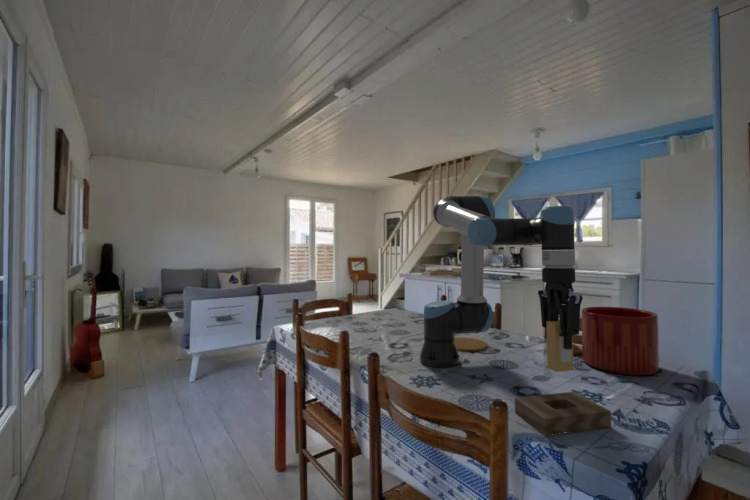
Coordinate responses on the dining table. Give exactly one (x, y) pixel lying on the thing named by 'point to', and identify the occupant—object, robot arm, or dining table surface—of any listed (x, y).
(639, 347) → the planter
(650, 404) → the dining table surface
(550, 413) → the socket block
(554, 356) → the peg
